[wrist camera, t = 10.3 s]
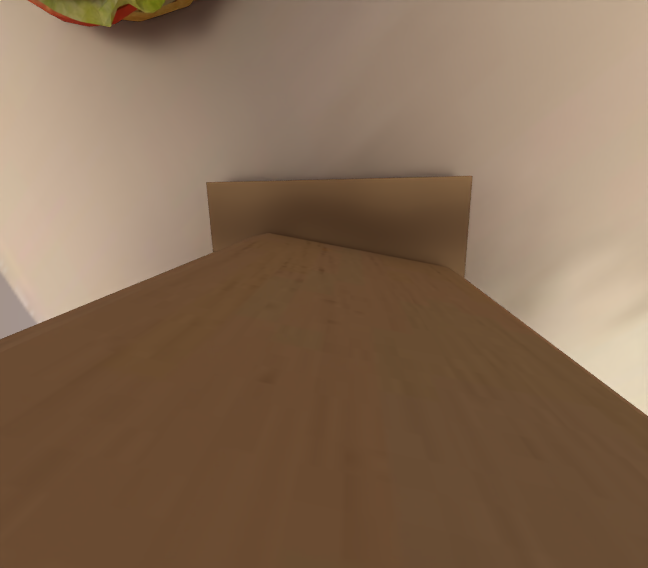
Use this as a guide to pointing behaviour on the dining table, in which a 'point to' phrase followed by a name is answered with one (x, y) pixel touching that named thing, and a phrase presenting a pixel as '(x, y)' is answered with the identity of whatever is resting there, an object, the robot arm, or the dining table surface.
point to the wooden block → (311, 426)
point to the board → (351, 215)
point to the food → (108, 10)
